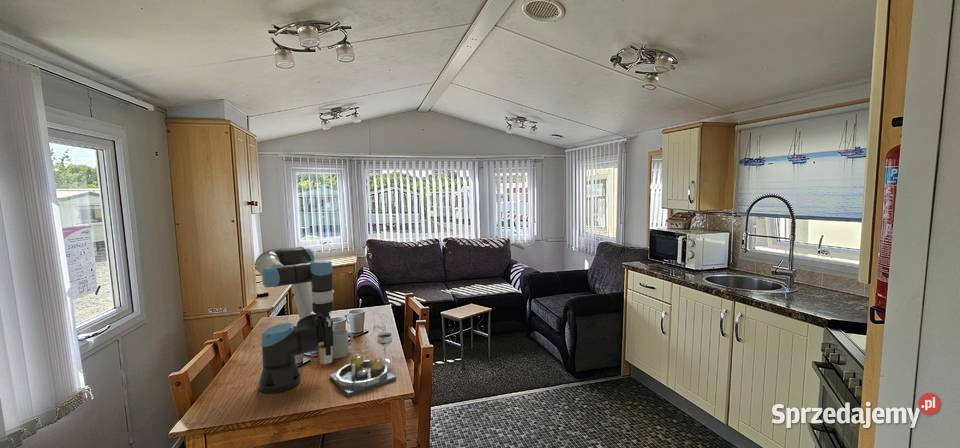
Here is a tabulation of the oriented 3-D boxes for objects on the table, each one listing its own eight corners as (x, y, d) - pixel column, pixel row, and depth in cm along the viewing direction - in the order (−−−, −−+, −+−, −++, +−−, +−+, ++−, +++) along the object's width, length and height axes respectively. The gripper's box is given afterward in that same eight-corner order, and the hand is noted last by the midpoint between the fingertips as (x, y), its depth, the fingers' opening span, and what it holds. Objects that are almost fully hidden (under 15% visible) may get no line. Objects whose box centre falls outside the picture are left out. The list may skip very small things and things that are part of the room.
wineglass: (381, 357, 179) (380, 332, 178) (395, 357, 178) (394, 332, 177) (375, 363, 172) (374, 337, 171) (389, 364, 171) (388, 338, 170)
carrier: (348, 396, 144) (347, 375, 143) (329, 377, 159) (329, 358, 158) (396, 379, 157) (395, 359, 156) (375, 363, 172) (374, 345, 171)
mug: (336, 360, 176) (336, 337, 175) (326, 355, 181) (325, 333, 180) (358, 351, 186) (357, 329, 185) (347, 347, 191) (346, 326, 190)
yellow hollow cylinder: (321, 365, 143) (320, 349, 143) (316, 360, 147) (316, 345, 146) (333, 361, 146) (333, 346, 146) (329, 357, 150) (329, 342, 149)
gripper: (341, 304, 140) (343, 365, 142) (325, 294, 154) (327, 350, 156) (320, 308, 135) (323, 371, 137) (305, 298, 149) (308, 355, 151)
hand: (325, 360), depth 146 cm, fingers closed on yellow hollow cylinder, 5 cm apart
